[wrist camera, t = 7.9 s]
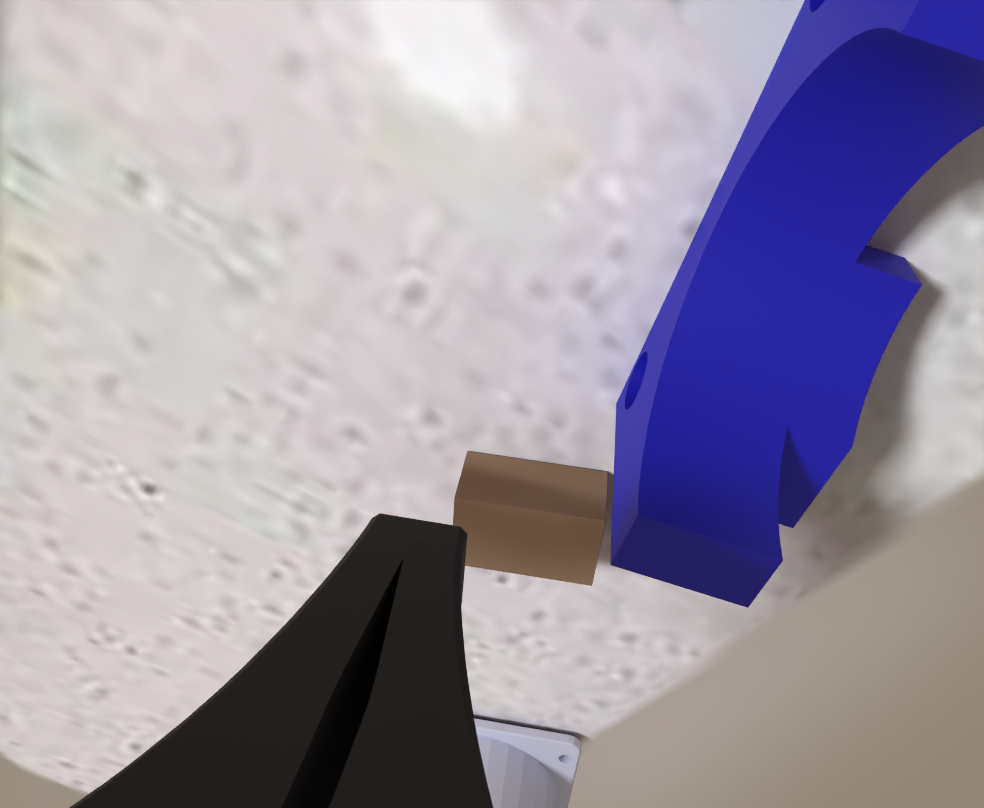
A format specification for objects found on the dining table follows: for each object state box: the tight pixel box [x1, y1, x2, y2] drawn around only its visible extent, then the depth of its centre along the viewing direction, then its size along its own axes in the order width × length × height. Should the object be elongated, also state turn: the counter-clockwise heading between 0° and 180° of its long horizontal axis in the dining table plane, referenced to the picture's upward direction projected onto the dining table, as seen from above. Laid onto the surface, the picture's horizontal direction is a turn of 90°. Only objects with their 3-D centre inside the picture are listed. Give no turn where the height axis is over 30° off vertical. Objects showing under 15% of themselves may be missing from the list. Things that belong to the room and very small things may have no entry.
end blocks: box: [453, 451, 608, 586], centre depth 18 cm, size 19×4×2 cm, turn 176°
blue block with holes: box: [611, 0, 984, 607], centre depth 15 cm, size 12×4×6 cm, turn 164°
